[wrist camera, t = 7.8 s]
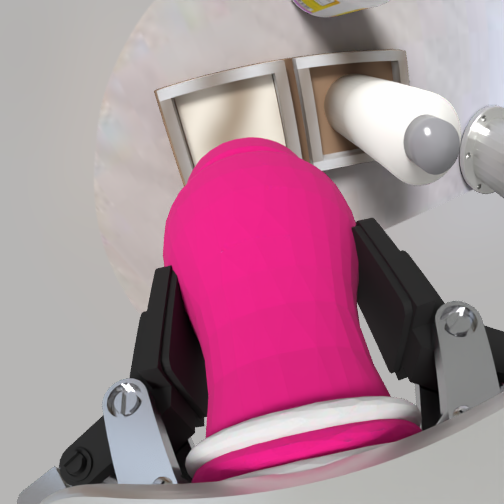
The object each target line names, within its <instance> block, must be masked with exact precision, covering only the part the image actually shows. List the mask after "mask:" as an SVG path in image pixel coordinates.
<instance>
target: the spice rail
mask: <svg viewBox="0 0 504 504" xmlns="http://www.w3.org/2000/svg"><path fill="white" fill-rule="evenodd" d="M347 74H362V75H367V76H371V77H376V78H380V79H384V80H389V81H393V82H397V83H400V84H404V85H408V86H410V85H409V75H408V65H407V57H406V51H403V50H395V49H394V50H363V51H347V52H335V53H325V54H316V55H308V56H300V57H293V58H286V59H280V60H274V61H268V62H263V63H257V64H252V65H247V66H243V67H238V68H233V69H229V70H225V71H220V72H216V73H212V74H208V75H205V76H201V77H197V78H193V79H190V80H186V81H183V82H179V83H176V84H173V85H170V86H166V87H163V88H160V89H157V90H155V91H154V93H155V96H156V99H157V103H158V106H159V109H160V112H161V116H162V119H163V122H164V125H165V129H166V132H167V135H168V138H169V141H170V144H171V148H172V151H173V154H174V157H175V160H176V163H177V166H178V169H179V172H180V175H181V178H182V181H183V184H184V186H185V185H186V184H187V181H188V179H189V176H190V174H191V172H192V170H193V169H194V167H195V166H196V164H197V163H198V162H199V160H200V159H201V158H202V157H203V156H204V155H206V154H207V153H208V152H209V151H210V150H212V149H214V148H215V147H217V146H219V145H220V144H222V143H225V142H228V141H231V140H234V139H240V138H247V137H258V138H264V139H269V140H272V141H276V142H278V143H280V144H282V145H284V146H285V147H287V148H289V149H290V150H291V151H292V152H294V153H295V154H296V155H297V156H298V157H299V158H301V159H303V160H305V161H307V162H309V163H310V164H312V165H314V166H316V167H317V168H318V169H320V170H321V171H324V170H329V169H334V168H339V167H344V166H350V165H355V164H360V163H366V162H371V161H376V160H374V159H373V158H372V157H371V156H369V155H368V154H367V153H365V152H364V151H363V150H361V149H360V148H359V147H357V146H356V145H355V144H353V143H352V142H351V141H349V140H348V139H346V138H345V137H344V136H342V135H341V134H339V133H338V132H337V131H335V130H334V129H333V128H332V127H331V125H330V124H329V122H328V120H327V118H326V115H325V111H324V100H325V96H326V93H327V91H328V89H329V87H330V86H331V85H332V83H333V82H334V81H336V80H337V79H338V78H340V77H342V76H344V75H347Z"/></svg>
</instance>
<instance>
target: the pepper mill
mask: <svg viewBox="0 0 504 504" xmlns="http://www.w3.org/2000/svg"><path fill="white" fill-rule="evenodd" d="M354 226H356V222H355V220H354V217H353V214H352V211H351V209H350V208H349V206H348V204H347V202H346V200H345V199H344V197H343V195H342V194H341V192H340V191H339V189H338V187H337V186H336V184H335V183H334V182H333V181H332V180H331V179H330V178H329V177H328V176H327V175H326V174H325V173H324V172H322V171H321V170H320V169H318V168H317V167H316V166H314V165H312V164H310V163H309V162H307V161H305V160H303V159H301V158H299V157H298V156H297V155H296V154H295V153H294V152H292V151H291V150H290V149H289V148H287V147H285V146H284V145H282V144H280V143H278V142H276V141H272V140H269V139H264V138H258V137H247V138H240V139H234V140H231V141H228V142H225V143H222V144H220V145H219V146H217V147H215V148H214V149H212V150H210V151H209V152H208V153H207V154H206V155H204V156H203V157H202V158H201V159H200V160H199V162H198V163H197V164H196V166H195V167H194V169H193V170H192V172H191V174H190V176H189V179H188V181H187V184H186V185H185V186H184V188H183V189H182V190H181V191H180V192H179V194H178V196H177V198H176V199H175V201H174V203H173V205H172V207H171V209H170V212H169V215H168V218H167V220H166V226H165V235H164V247H163V259H164V267H166V266H170V265H172V270H173V271H174V272H175V273H176V275H177V278H178V282H179V287H180V291H181V296H182V300H183V304H184V308H185V311H186V313H187V316H188V318H189V321H190V323H191V326H192V328H193V331H194V333H195V335H196V337H197V339H198V341H199V342H200V346H201V349H202V353H203V356H204V359H205V367H206V377H207V386H208V396H209V397H208V411H207V426H206V438H205V439H204V440H202V441H201V442H199V443H198V444H197V445H196V446H195V447H194V448H193V449H192V450H191V451H190V452H189V454H188V456H187V457H186V462H185V467H186V470H187V472H188V474H189V475H190V477H191V478H192V481H191V483H204V482H217V481H227V480H236V479H244V478H252V477H258V476H265V475H271V474H284V473H291V472H297V471H302V470H307V469H312V468H316V467H320V466H323V465H327V464H330V463H332V462H335V461H337V460H340V459H343V458H347V457H350V456H353V455H357V454H360V453H363V452H367V451H370V450H373V449H376V448H379V447H382V446H385V445H387V444H390V443H393V442H396V441H399V440H401V439H404V438H407V437H409V436H412V435H414V434H417V433H419V432H422V430H421V428H420V425H421V421H422V416H421V412H420V410H419V409H418V407H417V406H416V405H414V404H413V403H411V402H409V401H407V400H405V399H402V398H395V397H391V396H390V394H389V392H388V390H387V389H386V387H385V385H384V383H383V381H382V379H381V377H380V375H379V373H378V372H377V370H376V368H375V366H374V364H373V362H372V359H371V356H370V353H369V350H368V347H367V345H366V342H365V339H364V337H363V334H362V331H361V328H360V324H359V317H358V311H357V290H358V283H359V262H358V256H357V251H356V246H355V241H354V236H353V232H352V229H351V228H352V227H354Z"/></svg>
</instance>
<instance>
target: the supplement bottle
mask: <svg viewBox="0 0 504 504" xmlns="http://www.w3.org/2000/svg"><path fill="white" fill-rule="evenodd" d="M388 1H390V0H293V2H294V3H295V4H296V5H297V6H298V7H299V8H300V9H302V10H303V11H305V12H307V13H309V14H311V15H314V16H317V17H325V18H328V17H336V16H340V15H343V14H347V13H351V12H355V11H359V10H363V9H368V8H373V7H377V6H380V5H383V4H385V3H387V2H388Z"/></svg>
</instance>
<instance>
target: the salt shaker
mask: <svg viewBox="0 0 504 504" xmlns="http://www.w3.org/2000/svg"><path fill="white" fill-rule="evenodd" d="M324 111H325V115H326V118H327V120H328V122H329V124H330V125H331V127H332V128H333V129H334V130H335V131H337V132H338V133H339V134H341V135H342V136H344V137H345V138H346V139H348V140H349V141H351V142H352V143H353V144H355V145H356V146H357V147H359V148H360V149H361V150H363V151H364V152H365V153H367V154H368V155H369V156H371V157H372V158H373V159H374V160H376V161H377V162H378V163H380V164H381V165H382V166H383V167H385V168H386V169H387V170H388V171H390V172H391V173H392V174H393V175H394V176H396V177H397V178H398V179H400V180H401V181H403V182H404V183H407V184H410V185H414V186H422V185H427V184H430V183H433V182H435V181H437V180H438V179H440V178H441V177H442V176H443V175H445V174H446V173H447V171H448V170H449V169H450V168H451V167H452V166H453V164H454V163H455V161H456V159H457V157H458V154H459V150H460V144H461V126H460V121H459V118H458V115H457V113H456V111H455V109H454V108H453V107H452V105H451V104H450V103H449V102H448V101H447V100H446V99H445V98H443V97H442V96H440V95H438V94H435V93H432V92H429V91H426V90H422V89H419V88H415V87H412V86H408V85H404V84H400V83H397V82H393V81H389V80H384V79H380V78H376V77H371V76H367V75H362V74H347V75H344V76H342V77H340V78H338V79H337V80H336V81H334V82H333V83H332V85H331V86H330V87H329V89H328V91H327V93H326V96H325V100H324Z"/></svg>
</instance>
